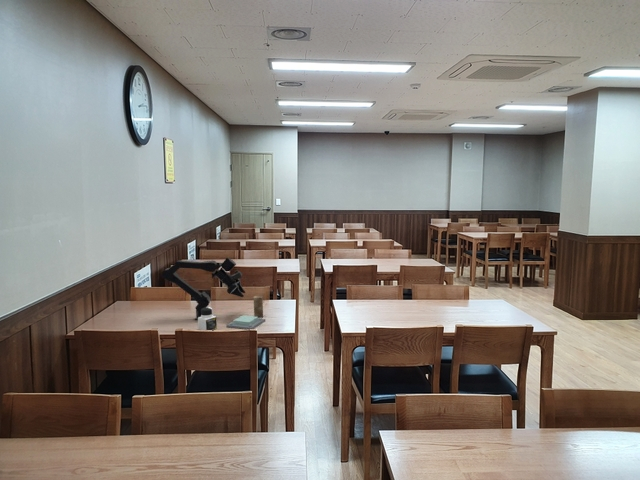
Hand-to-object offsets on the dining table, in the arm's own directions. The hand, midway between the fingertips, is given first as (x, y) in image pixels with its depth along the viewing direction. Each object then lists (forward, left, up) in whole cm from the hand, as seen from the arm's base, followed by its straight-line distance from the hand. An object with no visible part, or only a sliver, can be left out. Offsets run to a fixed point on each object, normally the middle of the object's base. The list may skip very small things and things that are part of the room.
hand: (244, 294), depth 260 cm
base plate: (+7, -12, -14) cm, 19 cm away
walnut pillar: (+7, +3, -14) cm, 16 cm away
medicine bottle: (-9, -26, -14) cm, 30 cm away
